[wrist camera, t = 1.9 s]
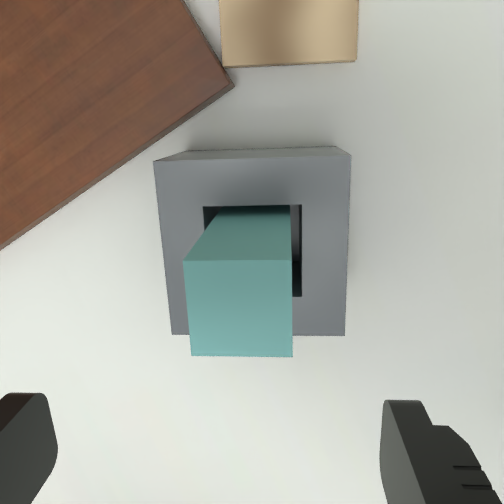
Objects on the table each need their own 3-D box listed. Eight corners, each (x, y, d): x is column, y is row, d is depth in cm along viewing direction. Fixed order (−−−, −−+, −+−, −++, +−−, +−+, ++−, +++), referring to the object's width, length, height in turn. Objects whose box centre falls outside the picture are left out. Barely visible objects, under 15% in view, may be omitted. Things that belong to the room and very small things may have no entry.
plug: (289, 195, 27) (291, 259, 15) (290, 253, 28) (292, 357, 16) (229, 196, 27) (182, 260, 15) (232, 253, 29) (191, 355, 16)
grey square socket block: (335, 146, 27) (351, 155, 20) (331, 287, 30) (344, 336, 23) (185, 151, 28) (153, 161, 21) (196, 287, 31) (171, 334, 24)
